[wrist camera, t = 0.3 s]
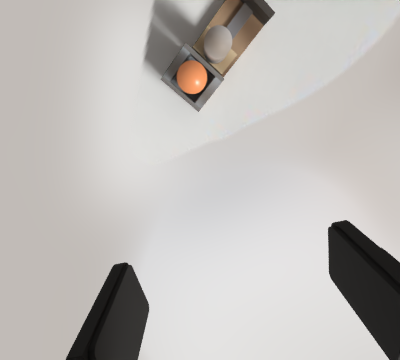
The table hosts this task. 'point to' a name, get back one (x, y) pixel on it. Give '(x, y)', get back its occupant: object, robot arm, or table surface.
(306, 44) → the table surface
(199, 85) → the button
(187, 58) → the stand
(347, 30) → the table surface
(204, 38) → the carriage
